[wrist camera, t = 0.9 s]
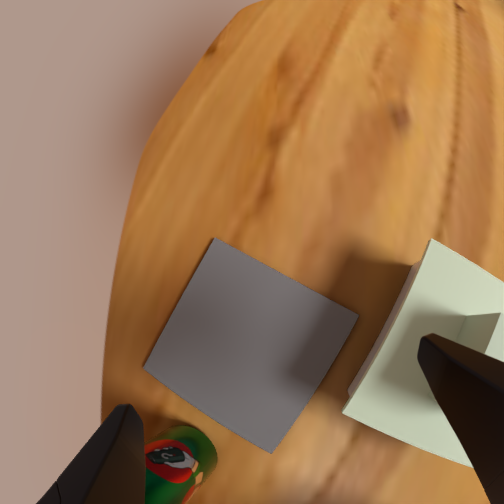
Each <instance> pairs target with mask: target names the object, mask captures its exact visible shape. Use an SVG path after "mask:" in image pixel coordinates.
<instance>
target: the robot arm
mask: <svg viewBox="0 0 504 504" xmlns="http://www.w3.org/2000/svg"><path fill="white" fill-rule="evenodd" d="M417 360H418V363H419V365H420V367H421V369H422V371H423V374H424V376H425V378H426V380H427V382H428V384H429V387H430V389H431V391H432V393H433V395H434V397H435V399H436V401H437V403H438V405H439V406H440V408H441V410H442V411H443V413H444V415H445V417H446V418H447V420H448V422H449V424H450V425H451V427H452V429H453V431H454V432H455V434H456V436H457V438H458V440H459V441H460V443H461V445H462V447H463V449H464V451H465V453H466V454H467V456H468V458H469V460H470V462H471V464H472V466H473V468H474V470H475V472H476V474H477V476H478V478H479V480H480V482H481V484H482V486H483V488H484V490H485V493H486V495H487V497H488V499H489V501H490V503H491V504H504V362H503V361H500V360H498V359H495V358H493V357H491V356H488V355H486V354H483V353H481V352H478V351H476V350H474V349H471V348H469V347H466V346H464V345H461V344H459V343H457V342H454V341H452V340H449V339H447V338H445V337H442V336H440V335H437V334H435V333H429V334H427V335H424V336H422V337H421V339H420V343H419V348H418V353H417ZM145 472H146V466H145V449H144V430H143V422H142V420H141V418H140V417H139V415H138V414H137V412H136V411H135V409H134V408H133V406H132V405H131V404H119V405H117V406H116V407H115V408H114V410H113V411H112V412H111V413H110V415H109V416H108V417H107V418H106V419H105V421H104V422H103V423H102V424H101V426H100V427H99V428H98V429H97V431H96V432H95V433H94V434H93V436H92V437H91V438H90V439H89V440H88V442H87V443H86V444H85V445H84V447H83V448H82V449H81V450H80V452H79V453H78V454H77V455H76V456H75V458H74V459H73V460H72V461H71V463H70V464H69V465H68V466H67V468H66V469H65V470H64V471H63V473H62V474H61V475H60V476H59V477H58V479H57V481H55V483H54V484H53V485H52V486H51V487H50V489H49V490H48V491H47V492H46V493H45V495H44V496H43V497H42V498H41V499H40V500H39V501H38V502H37V503H36V504H145Z"/></svg>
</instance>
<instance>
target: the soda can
mask: <svg viewBox="0 0 504 504" xmlns="http://www.w3.org/2000/svg"><path fill="white" fill-rule="evenodd" d="M144 449H145V466H146V472H145V504H186V503H187V502H188V500H189V499H190V498H191V497H192V496H193V495H194V494H195V492H196V491H197V490H198V489H199V488H200V487H201V485H202V484H203V483H204V482H205V481H206V479H207V478H208V477H209V476H210V475H211V473H212V472H213V471H214V470H215V468H216V465H217V452H216V449H215V447H214V445H213V444H212V442H211V441H210V440H209V438H208V437H207V436H205V435H204V434H203V433H202V432H200V431H199V430H197V429H195V428H192V427H189V426H183V425H178V426H172V427H170V428H168V429H166V430H165V431H163V432H161V433H160V434H158V435H156V436H155V437H153V438H151V439H150V440H148V441H146V442H144Z"/></svg>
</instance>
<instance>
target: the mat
mask: <svg viewBox="0 0 504 504" xmlns="http://www.w3.org/2000/svg"><path fill="white" fill-rule="evenodd" d="M358 317H359V315H358V314H356V313H354V312H352V311H351V310H349V309H347V308H345V307H343V306H341V305H339V304H337V303H336V302H334V301H332V300H330V299H328V298H326V297H324V296H323V295H321V294H319V293H317V292H315V291H313V290H311V289H309V288H308V287H306V286H304V285H302V284H300V283H298V282H296V281H295V280H293V279H291V278H289V277H287V276H285V275H283V274H282V273H280V272H278V271H276V270H274V269H272V268H270V267H269V266H267V265H265V264H263V263H261V262H259V261H257V260H256V259H254V258H252V257H250V256H248V255H246V254H245V253H243V252H241V251H239V250H237V249H235V248H233V247H232V246H230V245H228V244H226V243H224V242H222V241H221V240H219V239H217V238H215V239H214V240H213V242H212V244H211V245H210V247H209V249H208V251H207V252H206V254H205V256H204V258H203V259H202V261H201V263H200V265H199V266H198V268H197V270H196V272H195V273H194V275H193V277H192V279H191V281H190V282H189V284H188V286H187V288H186V290H185V291H184V293H183V295H182V297H181V299H180V300H179V302H178V304H177V306H176V308H175V309H174V311H173V313H172V315H171V317H170V319H169V320H168V322H167V324H166V326H165V328H164V330H163V332H162V333H161V335H160V337H159V339H158V341H157V343H156V345H155V347H154V348H153V350H152V352H151V354H150V356H149V358H148V360H147V362H146V364H145V366H144V368H143V369H145V370H146V371H147V372H148V373H150V374H151V375H152V376H153V377H155V378H156V379H157V380H159V381H160V382H161V383H163V384H164V385H165V386H166V387H168V388H169V389H170V390H172V391H173V392H175V393H176V394H177V395H179V396H180V397H181V398H183V399H184V400H186V401H187V402H188V403H190V404H191V405H193V406H194V407H196V408H197V409H199V410H200V411H202V412H203V413H204V414H206V415H207V416H209V417H210V418H212V419H214V420H215V421H217V422H218V423H220V424H221V425H223V426H224V427H226V428H228V429H229V430H231V431H233V432H234V433H236V434H237V435H239V436H241V437H242V438H244V439H246V440H248V441H249V442H251V443H253V444H254V445H256V446H258V447H260V448H262V449H263V450H265V451H267V452H269V453H271V454H272V453H273V451H274V450H275V449H276V447H277V446H278V445H279V443H280V442H281V440H282V439H283V438H284V436H285V435H286V434H287V432H288V431H289V429H290V428H291V426H292V425H293V424H294V422H295V421H296V419H297V418H298V416H299V415H300V413H301V412H302V410H303V409H304V407H305V406H306V404H307V403H308V401H309V400H310V398H311V397H312V395H313V394H314V392H315V391H316V389H317V387H318V386H319V384H320V383H321V381H322V380H323V378H324V376H325V375H326V373H327V371H328V370H329V368H330V366H331V365H332V363H333V361H334V360H335V358H336V356H337V355H338V353H339V351H340V349H341V348H342V346H343V344H344V342H345V341H346V339H347V337H348V335H349V334H350V332H351V330H352V328H353V326H354V324H355V323H356V321H357V319H358Z"/></svg>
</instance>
